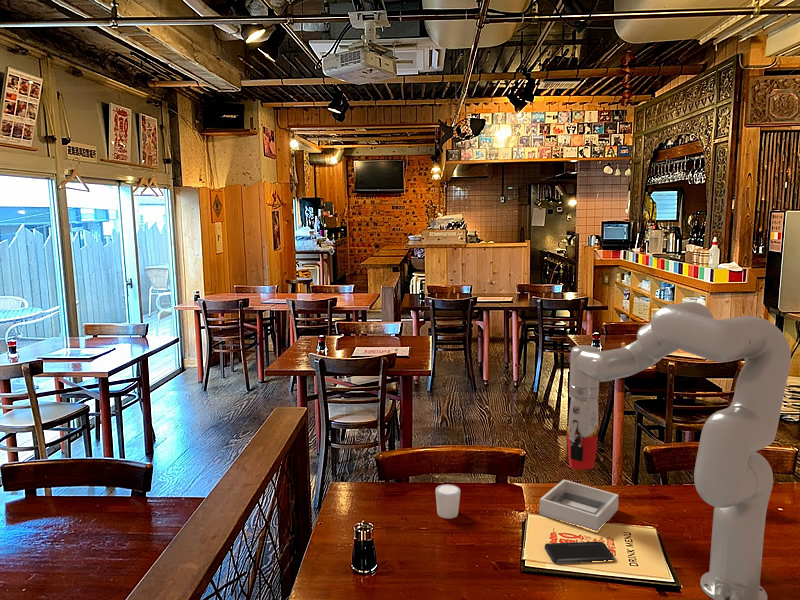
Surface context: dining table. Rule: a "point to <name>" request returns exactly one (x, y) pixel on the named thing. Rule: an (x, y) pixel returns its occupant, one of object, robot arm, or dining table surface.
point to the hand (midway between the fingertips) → (581, 455)
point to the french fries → (584, 451)
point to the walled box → (579, 504)
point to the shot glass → (447, 500)
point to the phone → (578, 552)
